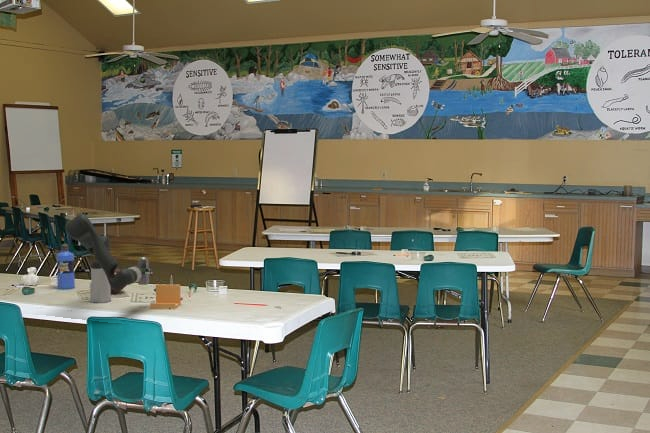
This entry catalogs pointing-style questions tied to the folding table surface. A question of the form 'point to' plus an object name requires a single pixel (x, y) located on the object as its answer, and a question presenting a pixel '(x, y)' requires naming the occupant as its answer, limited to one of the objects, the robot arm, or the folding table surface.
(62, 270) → the water bottle
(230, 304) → the folding table surface
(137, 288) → the folding table surface
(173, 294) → the keeper bracket
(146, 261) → the link block
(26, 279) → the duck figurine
